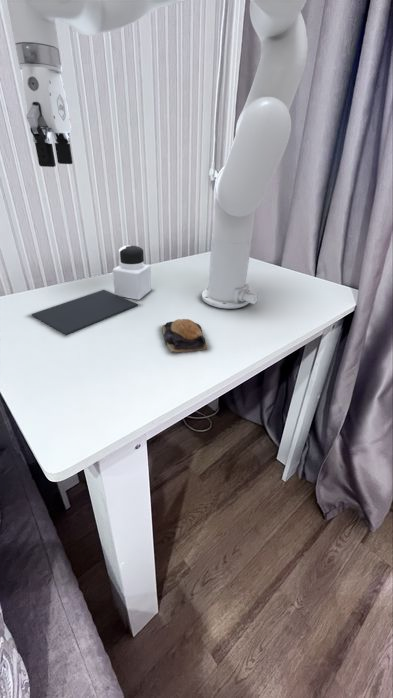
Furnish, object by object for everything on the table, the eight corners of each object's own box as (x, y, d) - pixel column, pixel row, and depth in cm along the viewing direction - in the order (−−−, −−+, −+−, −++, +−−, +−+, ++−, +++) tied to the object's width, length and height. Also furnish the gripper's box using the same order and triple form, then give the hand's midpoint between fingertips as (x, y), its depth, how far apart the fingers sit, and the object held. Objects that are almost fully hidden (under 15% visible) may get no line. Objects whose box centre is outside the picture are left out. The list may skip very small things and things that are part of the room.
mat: (137, 305, 81) (137, 304, 81) (65, 335, 68) (65, 333, 67) (103, 291, 88) (103, 289, 88) (31, 315, 74) (31, 313, 74)
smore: (159, 328, 72) (159, 312, 70) (197, 325, 74) (197, 310, 72) (168, 354, 64) (168, 337, 62) (210, 349, 65) (211, 333, 64)
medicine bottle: (151, 290, 90) (150, 245, 83) (139, 300, 84) (137, 253, 77) (128, 286, 91) (125, 242, 85) (114, 295, 86) (110, 249, 79)
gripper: (39, 51, 55) (58, 168, 64) (75, 70, 69) (87, 163, 79) (-6, 49, 55) (20, 167, 64) (39, 69, 70) (55, 162, 79)
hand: (57, 165), depth 71 cm, fingers open, 9 cm apart
